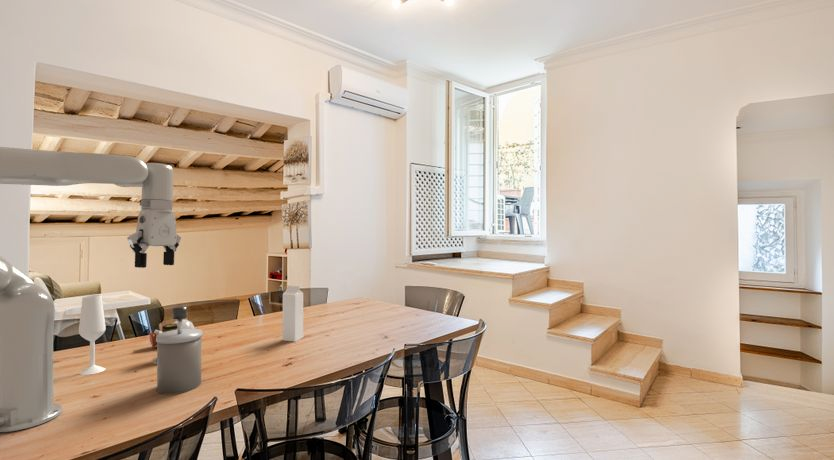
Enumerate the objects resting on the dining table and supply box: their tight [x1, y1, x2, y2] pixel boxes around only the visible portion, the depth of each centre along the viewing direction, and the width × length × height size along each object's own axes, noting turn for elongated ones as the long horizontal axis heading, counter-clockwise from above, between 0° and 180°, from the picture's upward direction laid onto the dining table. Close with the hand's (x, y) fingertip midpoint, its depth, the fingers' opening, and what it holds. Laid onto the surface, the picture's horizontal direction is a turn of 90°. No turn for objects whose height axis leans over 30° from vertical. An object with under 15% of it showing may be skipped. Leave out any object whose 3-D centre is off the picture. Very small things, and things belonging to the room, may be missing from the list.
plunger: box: [172, 305, 188, 334], centre depth 116 cm, size 4×4×8 cm
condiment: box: [153, 323, 177, 365], centre depth 139 cm, size 7×8×12 cm
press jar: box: [156, 328, 204, 395], centre depth 116 cm, size 13×12×15 cm
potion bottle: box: [149, 318, 196, 349], centre depth 156 cm, size 9×10×15 cm
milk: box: [282, 285, 304, 342], centre depth 165 cm, size 6×6×22 cm
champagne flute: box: [78, 294, 107, 376], centre depth 127 cm, size 7×7×24 cm
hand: (155, 266), depth 115 cm, fingers open, 9 cm apart
